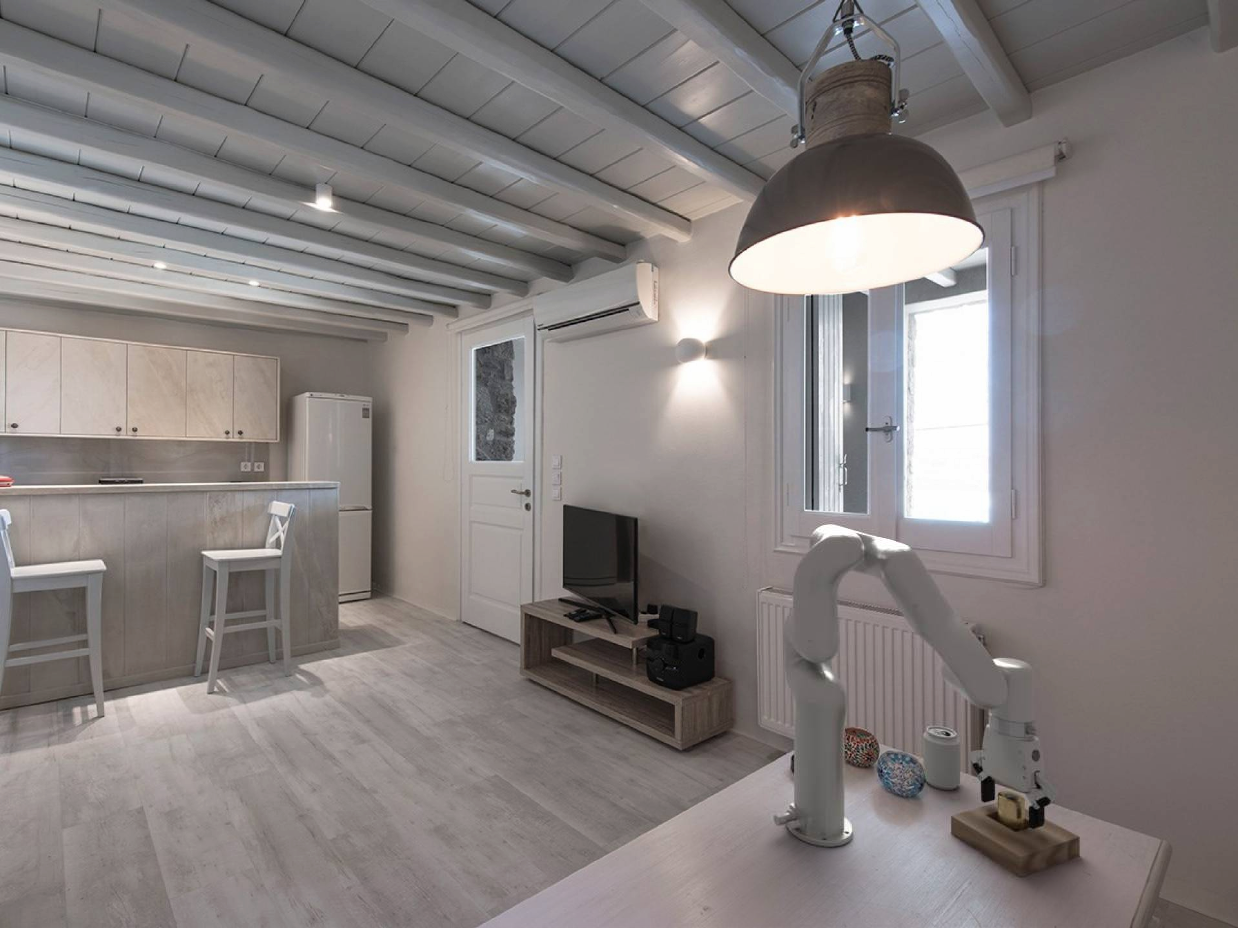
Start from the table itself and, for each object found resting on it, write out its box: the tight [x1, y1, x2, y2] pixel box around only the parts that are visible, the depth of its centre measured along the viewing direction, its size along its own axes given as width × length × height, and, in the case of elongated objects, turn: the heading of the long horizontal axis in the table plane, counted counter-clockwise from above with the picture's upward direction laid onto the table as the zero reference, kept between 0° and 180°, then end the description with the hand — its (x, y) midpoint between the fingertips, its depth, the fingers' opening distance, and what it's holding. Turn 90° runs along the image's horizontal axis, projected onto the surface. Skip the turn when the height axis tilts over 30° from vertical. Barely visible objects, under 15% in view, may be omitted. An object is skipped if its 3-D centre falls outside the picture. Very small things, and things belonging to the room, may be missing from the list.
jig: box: [950, 801, 1081, 878], centre depth 118 cm, size 16×14×4 cm
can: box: [922, 725, 961, 791], centre depth 141 cm, size 8×8×12 cm
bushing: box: [997, 790, 1026, 832], centre depth 120 cm, size 4×4×8 cm
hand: (1011, 813), depth 120 cm, fingers open, 9 cm apart
